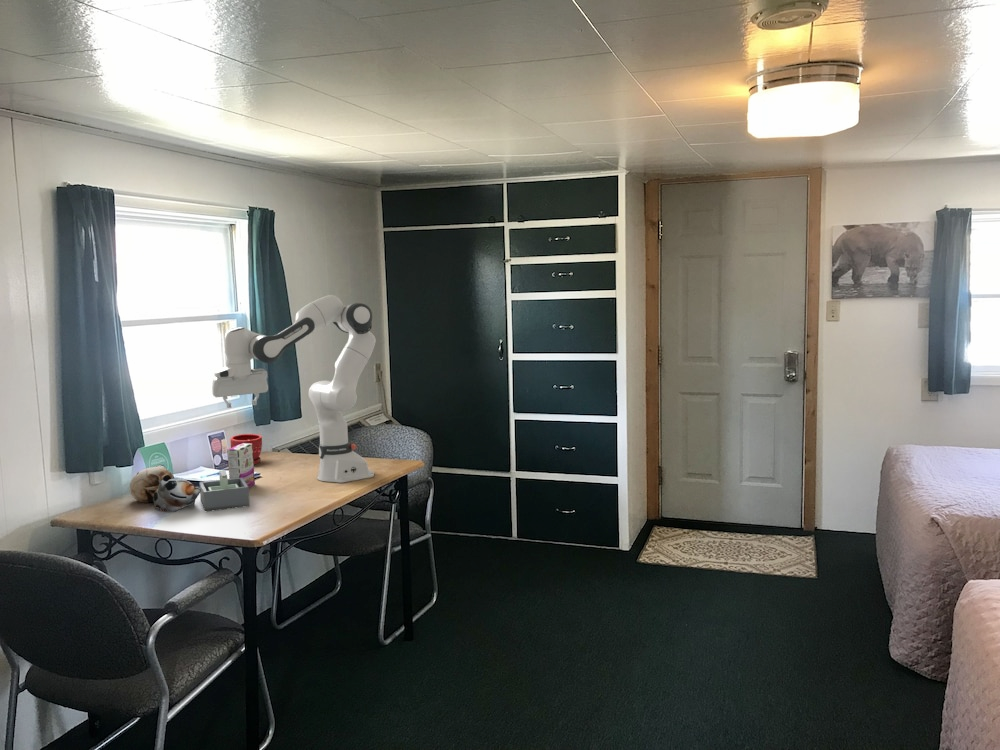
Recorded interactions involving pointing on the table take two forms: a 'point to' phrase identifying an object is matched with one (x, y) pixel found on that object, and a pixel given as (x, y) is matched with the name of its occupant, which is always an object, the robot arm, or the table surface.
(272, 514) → the table surface
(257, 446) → the plant pot
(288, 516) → the table surface
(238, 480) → the large crate
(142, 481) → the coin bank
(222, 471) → the small crate
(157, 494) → the lucky cat figurine
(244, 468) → the candy bar box
